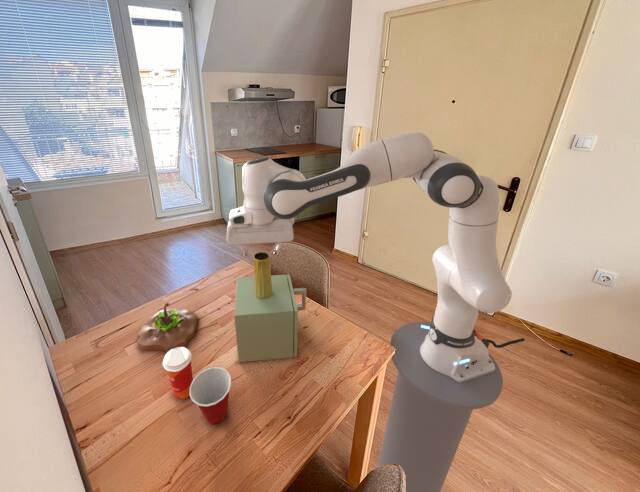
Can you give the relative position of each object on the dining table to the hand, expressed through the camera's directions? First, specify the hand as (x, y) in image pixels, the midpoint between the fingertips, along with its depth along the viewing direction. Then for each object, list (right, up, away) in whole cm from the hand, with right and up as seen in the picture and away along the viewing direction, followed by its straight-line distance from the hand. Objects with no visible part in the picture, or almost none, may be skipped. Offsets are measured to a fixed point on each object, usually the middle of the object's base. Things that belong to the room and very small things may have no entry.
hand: (261, 254), depth 91 cm
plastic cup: (-12, -43, -11) cm, 46 cm away
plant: (-35, -30, +18) cm, 50 cm away
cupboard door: (+13, -31, +15) cm, 37 cm away
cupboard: (0, -31, +14) cm, 35 cm away
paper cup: (-23, -40, -4) cm, 46 cm away
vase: (0, -14, +6) cm, 15 cm away
